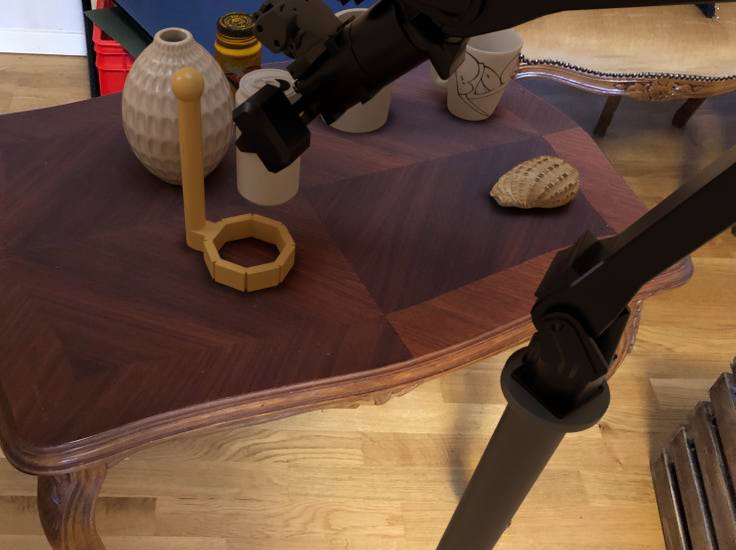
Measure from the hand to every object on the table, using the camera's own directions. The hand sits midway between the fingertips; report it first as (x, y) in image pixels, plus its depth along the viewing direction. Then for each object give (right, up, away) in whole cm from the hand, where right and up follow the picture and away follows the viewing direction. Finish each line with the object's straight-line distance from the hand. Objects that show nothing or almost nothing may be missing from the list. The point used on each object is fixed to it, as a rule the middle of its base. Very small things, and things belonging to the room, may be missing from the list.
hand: (257, 130), depth 69 cm
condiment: (-3, +12, +27) cm, 30 cm away
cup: (+13, +11, +27) cm, 32 cm away
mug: (+28, +13, +29) cm, 42 cm away
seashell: (+32, -4, +15) cm, 36 cm away
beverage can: (+1, -5, +5) cm, 7 cm away
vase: (-9, +1, +18) cm, 20 cm away
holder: (-2, -11, +8) cm, 14 cm away
